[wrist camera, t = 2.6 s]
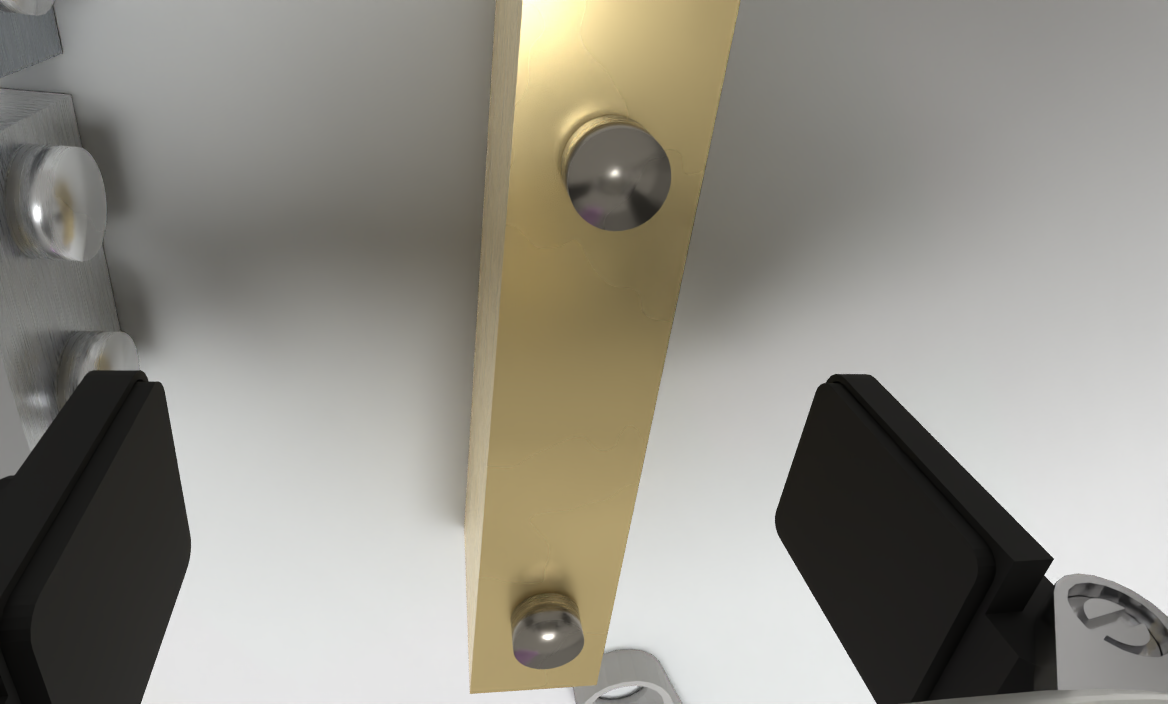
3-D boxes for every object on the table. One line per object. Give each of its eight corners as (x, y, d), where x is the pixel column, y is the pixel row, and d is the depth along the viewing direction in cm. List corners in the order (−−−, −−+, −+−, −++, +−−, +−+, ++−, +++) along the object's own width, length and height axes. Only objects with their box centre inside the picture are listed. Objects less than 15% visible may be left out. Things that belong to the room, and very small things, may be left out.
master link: (646, -34, 12) (761, 2, 8) (563, 519, 18) (602, 714, 14) (498, -54, 11) (530, -28, 7) (464, 521, 17) (471, 724, 13)
